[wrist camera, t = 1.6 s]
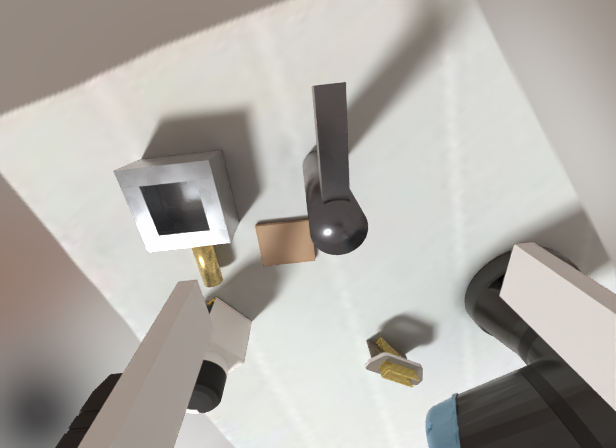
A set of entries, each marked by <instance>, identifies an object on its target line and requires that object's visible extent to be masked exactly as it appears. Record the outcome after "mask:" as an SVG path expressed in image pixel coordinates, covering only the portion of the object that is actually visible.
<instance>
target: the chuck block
mask: <svg viewBox="0 0 616 448" xmlns="http://www.w3.org/2000/svg"><path fill="white" fill-rule="evenodd" d="M114 173H115V176H116V178H117V180H118V183H119V185H120V187H121V190H122V192H123V194H124V196H125V199H126V201H127V203H128V206H129V208H130V210H131V213H132V215H133V217H134V220H135V222H136V224H137V226H138V229H139V231H140V233H141V236H142V238H143V240H144V243H145V245H146V247H147V250H148V252H152V251H161V250H170V249H179V248H188V247H191V248H192V251H193V254H194V256H195V259H196V262H197V265H198V268H199V271H200V274H201V277H202V280H203V282H204V285H205V286H206V287H214V286H217V285H219V284H220V283H221V282H222V281H223V277H222V273H221V270H220V267H219V263H218V260H217V257H216V253H215V250H214V247H213V245H215V244H224V243H231V241H232V238H233V236H234V234H235V231H236V229H237V227H238V224H239V220H238V216H237V211H236V207H235V203H234V199H233V195H232V191H231V187H230V182H229V178H228V174H227V170H226V166H225V162H224V157H223V153H222V150H217V151H209V152H200V153H191V154H182V155H173V156H164V157H155V158H146V159H140V160H138V161H135V162H133V163H131V164H128V165H126V166H124V167H121V168H119V169H117V170H114Z"/></svg>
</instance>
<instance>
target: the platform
mask: <svg viewBox="0 0 616 448" xmlns="http://www.w3.org/2000/svg"><path fill="white" fill-rule="evenodd" d="M380 341H381V342H380ZM379 342H380V343H379ZM367 344H368V348H369V351H370V355H371V359H369V360H368V361H367V362H366V363H365V367H366V369H367V370H370V371H373V372H376V373H379V374H381V376H382V378H385V379H388V380H391V381H394V380H395V381H394V382H397V383H400V384H403V385H406V386H409V387H413V385H418V384H419V383H420V382H421V381H422V377H423V368H422V366H421V364H418V363H416V362H413V361H410V360H407V357H406V355H405V354H404V353H401V352H399V351H396V350H394V349H393V348H392V347H391V346H390V345H389V344H388V343H387V342H386V341H385V340H384V339H382V337H379V339H378V340H377V341H376V342H375V343H374V342H371V341H368V340H367ZM382 344H383V345H382ZM387 376H388V377H387Z"/></svg>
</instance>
